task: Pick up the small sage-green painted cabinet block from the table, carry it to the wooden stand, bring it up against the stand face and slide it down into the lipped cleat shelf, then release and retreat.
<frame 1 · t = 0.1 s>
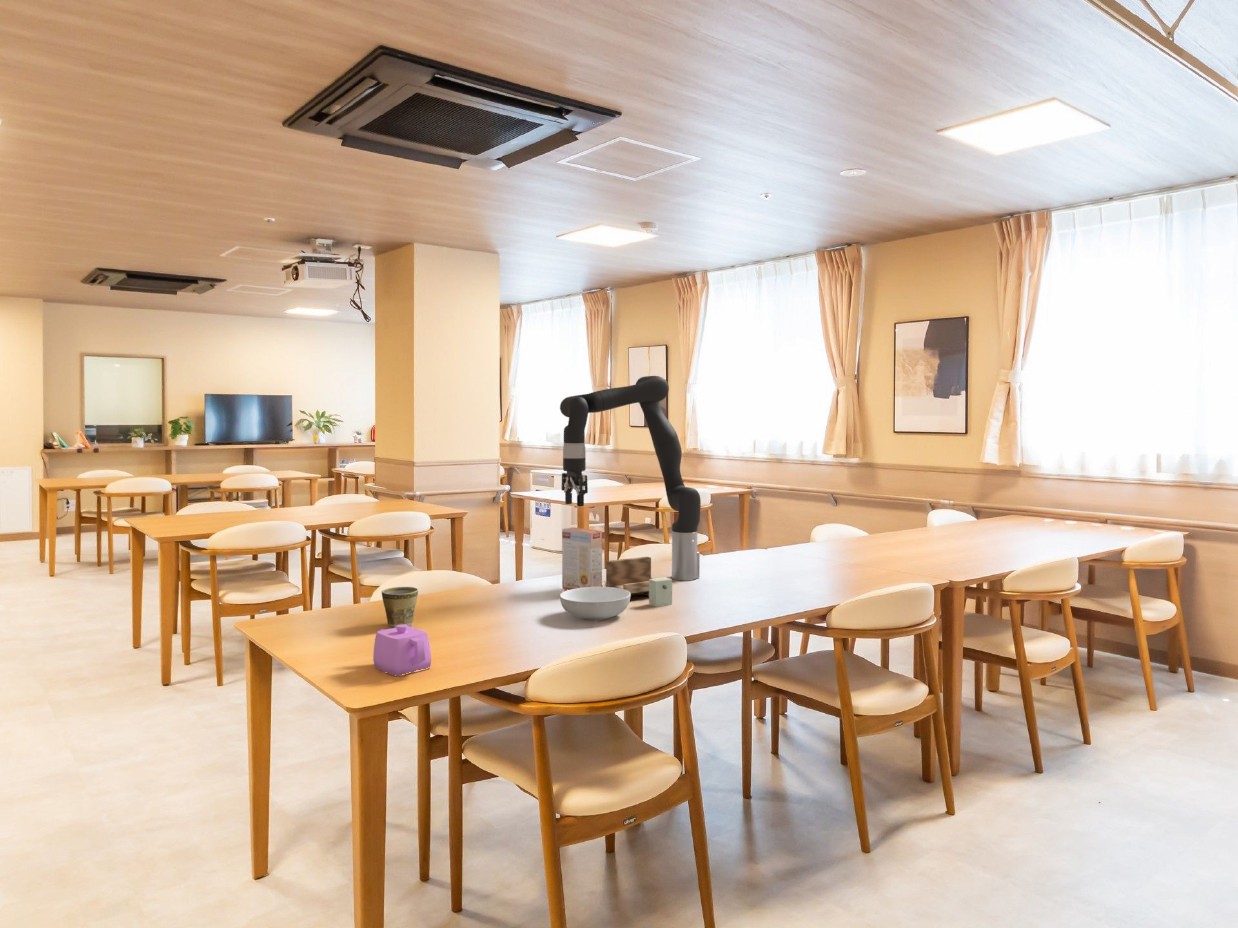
hand: (574, 505, 275), 29 cm above the table, fingers open, 8 cm apart
ceramic cup: (401, 624, 234), on the table
serving bowl: (595, 617, 243), on the table
cabinet block: (660, 604, 258), on the table
wooden stand: (628, 595, 271), on the table
teapot: (401, 668, 194), on the table
cracker box: (582, 591, 278), on the table
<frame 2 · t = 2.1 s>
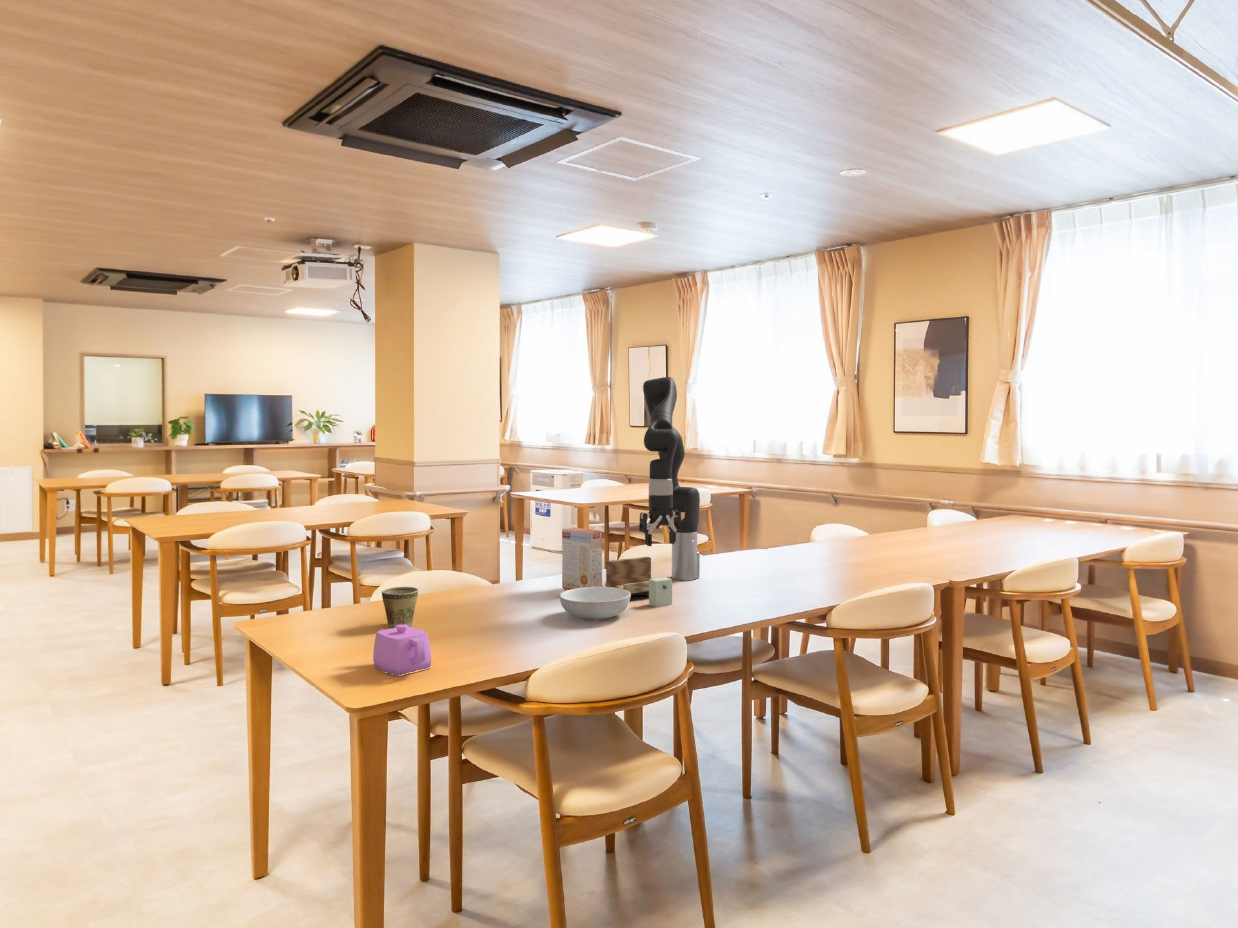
hand: (660, 544, 257), 19 cm above the table, fingers open, 8 cm apart
nothing on the table moved.
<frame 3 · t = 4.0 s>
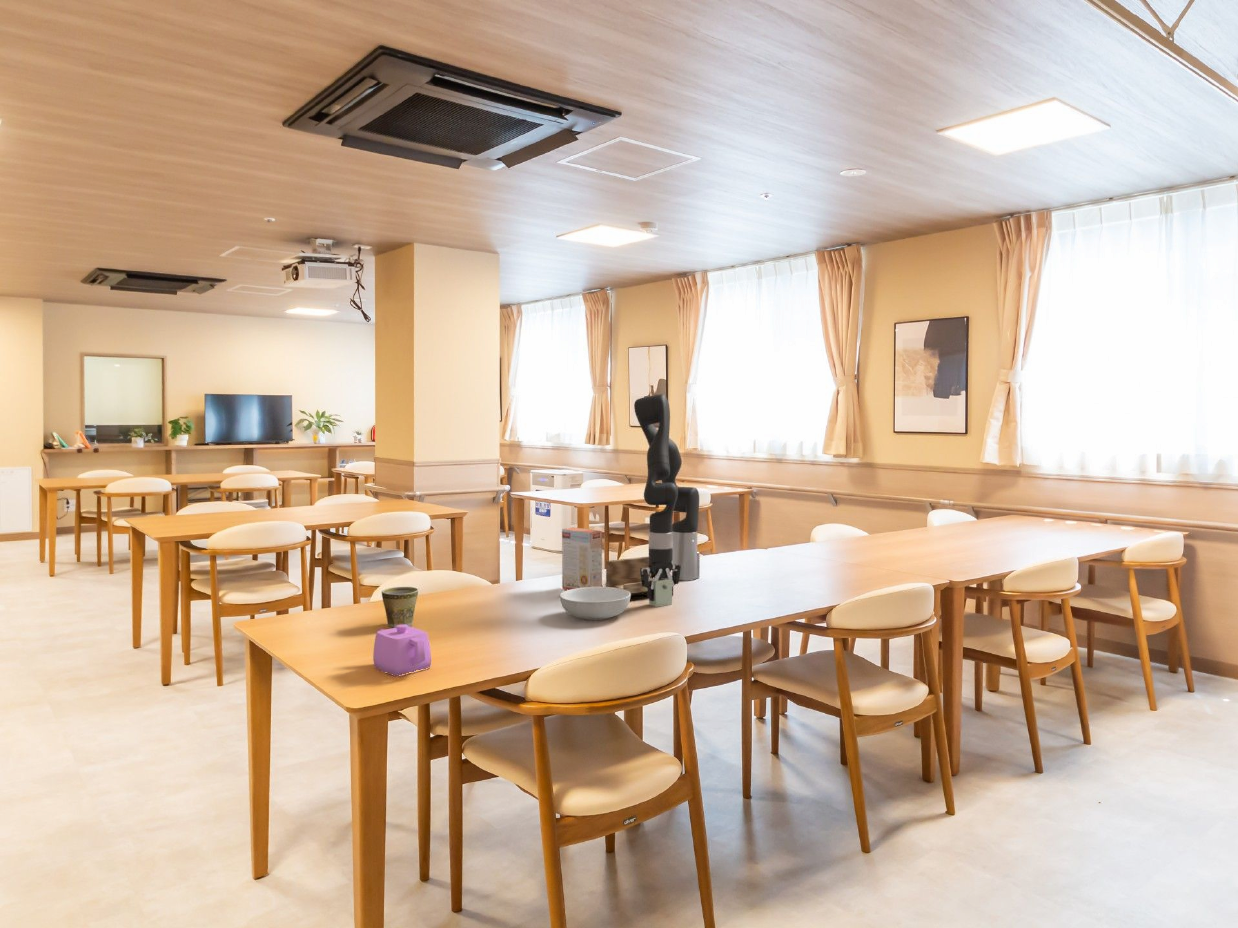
hand: (660, 599, 258), 2 cm above the table, fingers closed on cabinet block, 6 cm apart
cabinet block: (660, 604, 258), on the table, touching gripper
everything else where it was.
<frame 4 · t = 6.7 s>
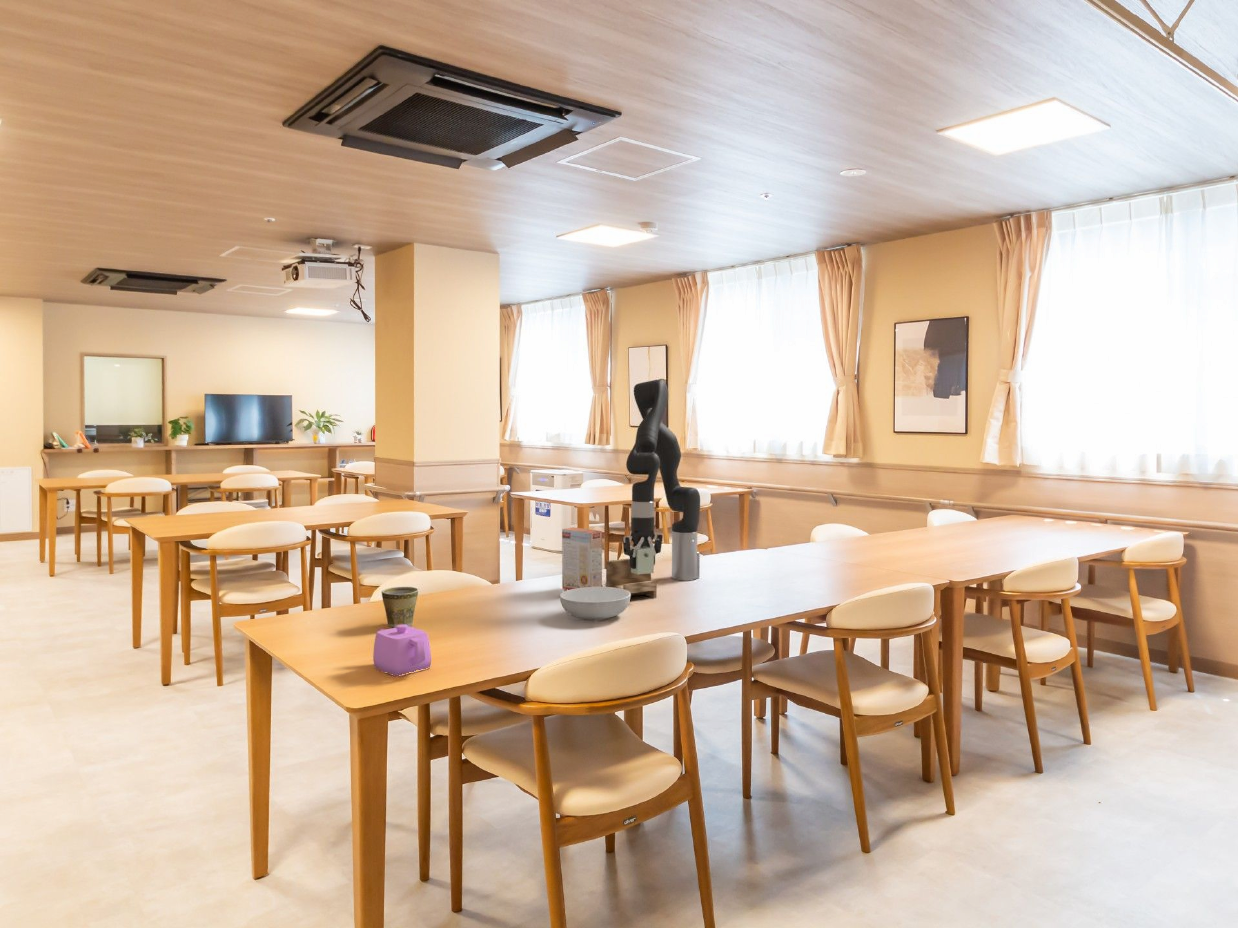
hand: (642, 567, 263), 11 cm above the table, fingers closed on cabinet block, 6 cm apart
cabinet block: (642, 572, 263), point 9 cm above the table, touching gripper
everything else where it was.
when the fingers open (6 cm above the table, at t = 9.3 s): cabinet block stays where it is, resting on wooden stand.
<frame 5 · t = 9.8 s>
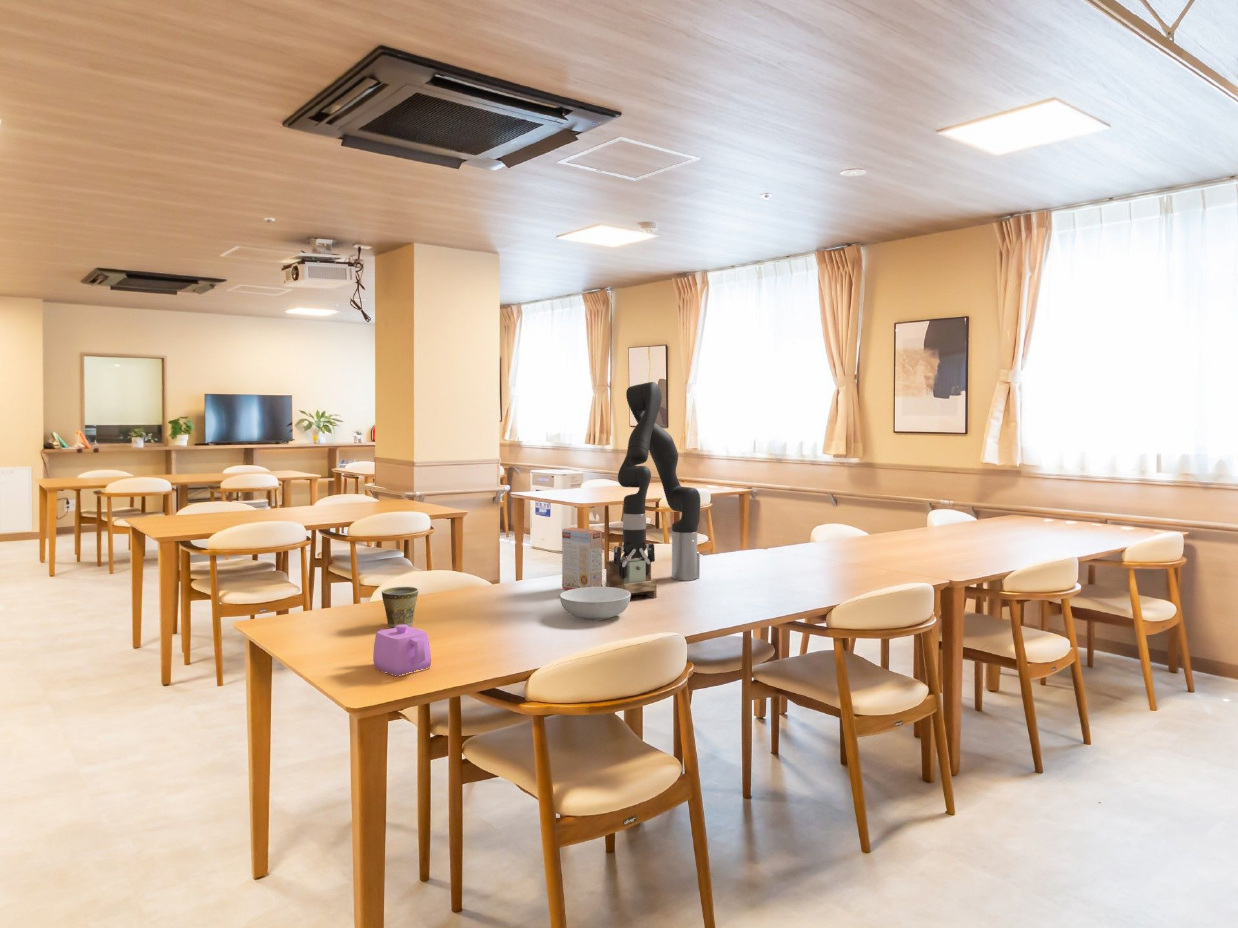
hand: (634, 576, 268), 7 cm above the table, fingers open, 8 cm apart
cabinet block: (634, 585, 268), point 4 cm above the table, touching wooden stand
everything else where it was.
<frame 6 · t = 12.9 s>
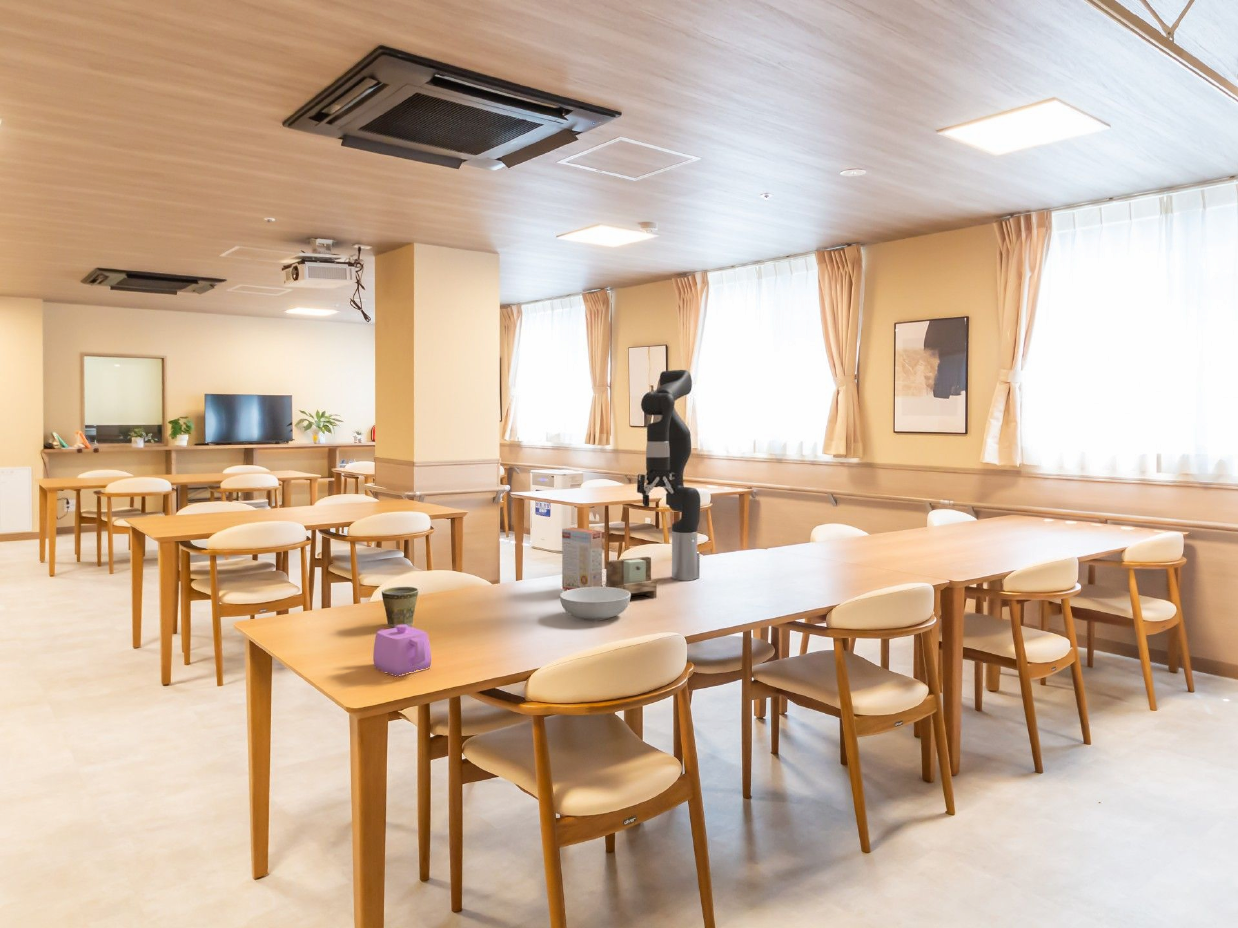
hand: (657, 505, 265), 30 cm above the table, fingers open, 8 cm apart
nothing on the table moved.
at the end: cabinet block inside the target area (0.3 cm from its centre), point 4.0 cm above the table; cabinet block tilted 0°; the gripper is holding nothing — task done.
